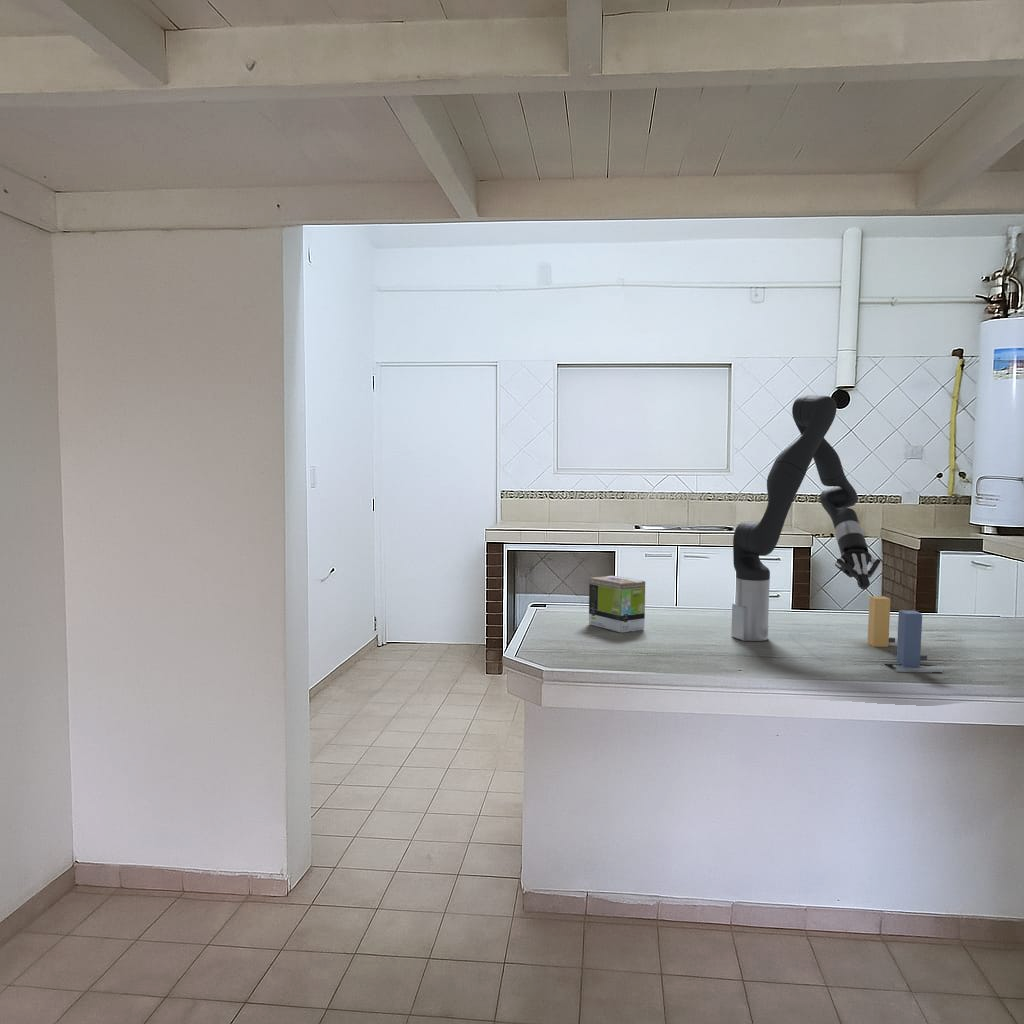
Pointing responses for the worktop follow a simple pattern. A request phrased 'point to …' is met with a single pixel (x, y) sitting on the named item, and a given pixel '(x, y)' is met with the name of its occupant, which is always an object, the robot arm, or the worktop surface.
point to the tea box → (617, 603)
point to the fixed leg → (909, 638)
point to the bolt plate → (914, 668)
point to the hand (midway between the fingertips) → (865, 587)
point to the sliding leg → (879, 621)
